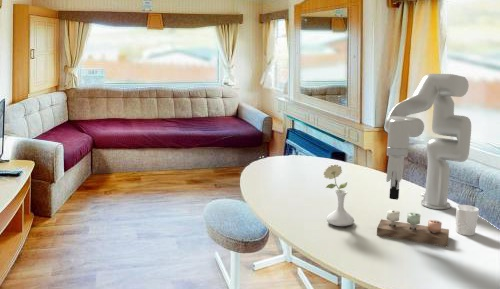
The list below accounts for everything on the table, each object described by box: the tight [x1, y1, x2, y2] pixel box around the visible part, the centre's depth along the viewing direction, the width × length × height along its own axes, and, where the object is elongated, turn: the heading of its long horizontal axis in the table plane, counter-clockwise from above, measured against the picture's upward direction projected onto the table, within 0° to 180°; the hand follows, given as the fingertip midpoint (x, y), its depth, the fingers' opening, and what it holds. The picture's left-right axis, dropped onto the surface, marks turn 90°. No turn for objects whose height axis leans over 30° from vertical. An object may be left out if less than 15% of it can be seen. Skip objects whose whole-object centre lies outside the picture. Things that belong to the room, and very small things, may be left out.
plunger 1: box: [386, 209, 401, 227], centre depth 169 cm, size 5×5×7 cm
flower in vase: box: [323, 164, 355, 227], centre depth 177 cm, size 13×11×25 cm
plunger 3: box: [427, 219, 442, 233], centre depth 163 cm, size 5×5×7 cm
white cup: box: [455, 204, 480, 237], centre depth 170 cm, size 8×8×10 cm
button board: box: [376, 218, 450, 247], centre depth 167 cm, size 25×10×3 cm, turn 65°
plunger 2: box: [406, 212, 421, 230], centre depth 166 cm, size 5×5×7 cm
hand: (393, 198), depth 167 cm, fingers closed
